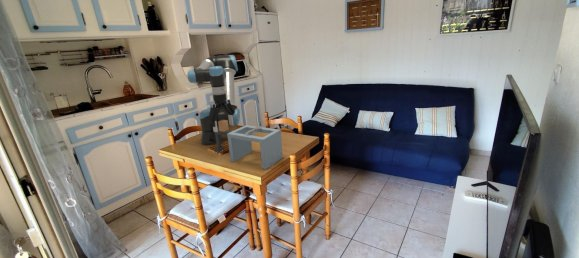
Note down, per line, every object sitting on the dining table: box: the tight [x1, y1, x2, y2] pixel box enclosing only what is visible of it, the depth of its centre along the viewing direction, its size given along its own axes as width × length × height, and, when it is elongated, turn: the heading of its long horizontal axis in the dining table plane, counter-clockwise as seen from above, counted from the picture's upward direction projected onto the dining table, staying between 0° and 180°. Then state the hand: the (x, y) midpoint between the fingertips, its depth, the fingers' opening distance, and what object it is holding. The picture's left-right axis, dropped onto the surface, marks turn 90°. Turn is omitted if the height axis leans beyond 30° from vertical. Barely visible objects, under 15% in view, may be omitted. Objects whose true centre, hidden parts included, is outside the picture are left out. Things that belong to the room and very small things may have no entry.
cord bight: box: [214, 120, 233, 153], centre depth 168 cm, size 15×5×21 cm, turn 60°
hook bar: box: [245, 125, 263, 136], centre depth 154 cm, size 2×13×2 cm, turn 149°
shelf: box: [226, 124, 284, 170], centre depth 157 cm, size 25×17×17 cm
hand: (223, 128), depth 166 cm, fingers open, 13 cm apart
